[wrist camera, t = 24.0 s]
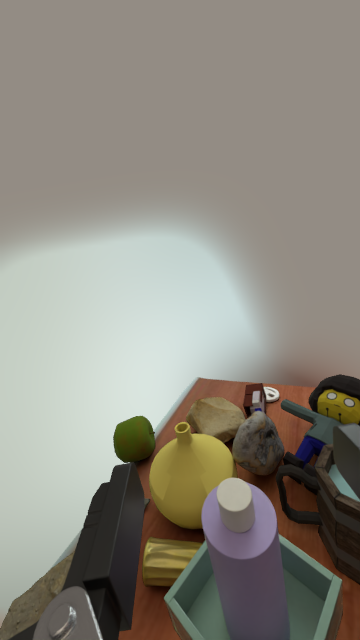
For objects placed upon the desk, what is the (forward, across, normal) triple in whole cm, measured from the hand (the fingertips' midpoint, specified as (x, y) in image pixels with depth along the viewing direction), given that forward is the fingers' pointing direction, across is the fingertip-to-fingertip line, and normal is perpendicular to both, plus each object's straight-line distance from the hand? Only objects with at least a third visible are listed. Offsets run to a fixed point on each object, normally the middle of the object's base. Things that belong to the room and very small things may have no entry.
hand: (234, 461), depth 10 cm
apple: (+48, +27, +39) cm, 67 cm away
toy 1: (+49, -11, +41) cm, 65 cm away
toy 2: (+31, -16, +42) cm, 55 cm away
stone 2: (+37, -5, +38) cm, 53 cm away
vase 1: (+33, +6, +44) cm, 55 cm away
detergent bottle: (+5, 0, +22) cm, 23 cm away
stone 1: (+51, 0, +44) cm, 67 cm away
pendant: (+65, -20, +43) cm, 80 cm away
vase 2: (+22, +16, +41) cm, 49 cm away
